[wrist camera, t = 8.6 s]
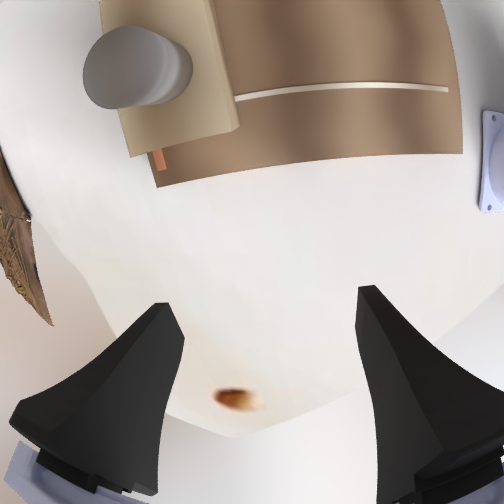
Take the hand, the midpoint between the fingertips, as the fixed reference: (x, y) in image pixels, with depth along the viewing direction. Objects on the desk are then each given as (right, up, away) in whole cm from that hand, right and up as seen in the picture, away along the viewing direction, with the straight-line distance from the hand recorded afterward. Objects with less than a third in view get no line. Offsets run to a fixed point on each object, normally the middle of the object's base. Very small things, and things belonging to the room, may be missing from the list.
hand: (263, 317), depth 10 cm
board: (+2, +13, +3) cm, 14 cm away
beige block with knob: (-5, +14, +2) cm, 15 cm away
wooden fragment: (-27, +4, +12) cm, 30 cm away
